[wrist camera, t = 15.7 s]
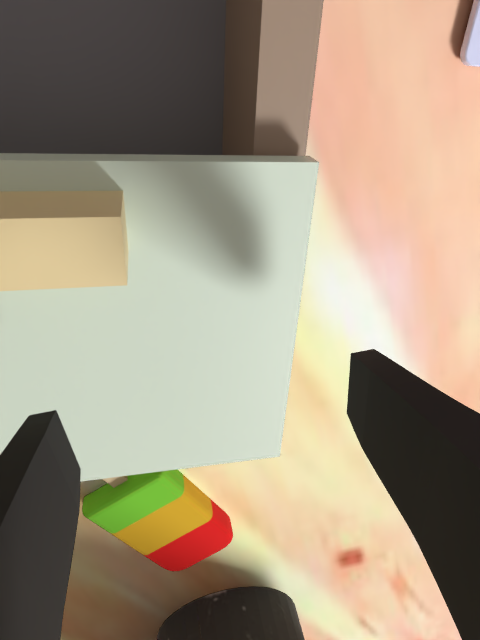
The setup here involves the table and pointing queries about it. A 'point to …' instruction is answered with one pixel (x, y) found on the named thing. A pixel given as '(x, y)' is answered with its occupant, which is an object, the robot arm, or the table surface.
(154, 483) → the popsicle
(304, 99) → the board
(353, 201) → the table surface
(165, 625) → the lantern
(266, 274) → the lid
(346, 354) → the table surface
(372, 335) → the table surface
